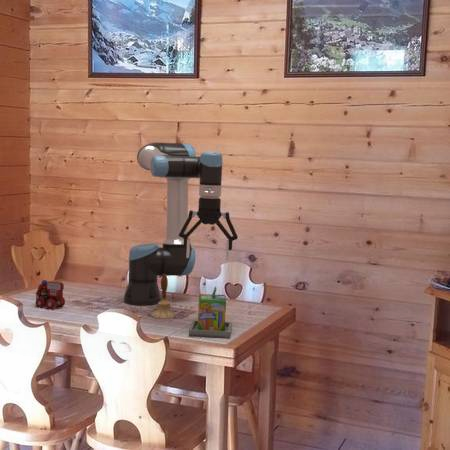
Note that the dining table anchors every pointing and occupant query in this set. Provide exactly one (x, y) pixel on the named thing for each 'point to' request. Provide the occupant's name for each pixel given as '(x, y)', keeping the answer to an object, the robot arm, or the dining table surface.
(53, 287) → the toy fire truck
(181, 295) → the dining table surface
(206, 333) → the tray
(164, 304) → the hand bell
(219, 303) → the chalk box
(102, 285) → the dining table surface
